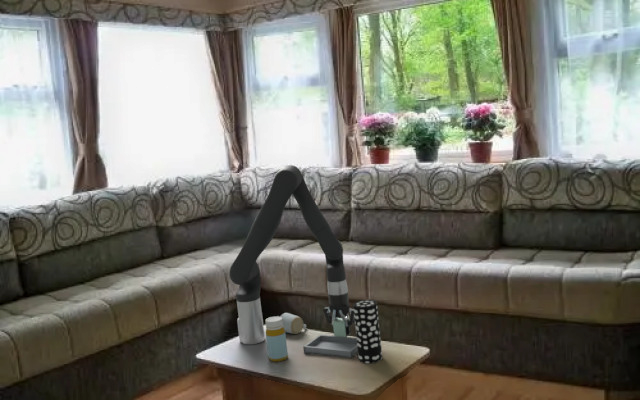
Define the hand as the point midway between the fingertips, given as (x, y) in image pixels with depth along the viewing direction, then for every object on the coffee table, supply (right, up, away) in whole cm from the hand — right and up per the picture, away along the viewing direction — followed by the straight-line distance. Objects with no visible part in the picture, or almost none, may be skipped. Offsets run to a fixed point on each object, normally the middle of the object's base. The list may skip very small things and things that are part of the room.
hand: (342, 334), depth 250 cm
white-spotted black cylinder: (+9, -4, -21) cm, 24 cm away
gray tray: (-3, -4, -9) cm, 10 cm away
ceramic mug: (-19, -2, +15) cm, 24 cm away
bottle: (-24, -7, -12) cm, 27 cm away
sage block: (0, -1, 0) cm, 1 cm away
